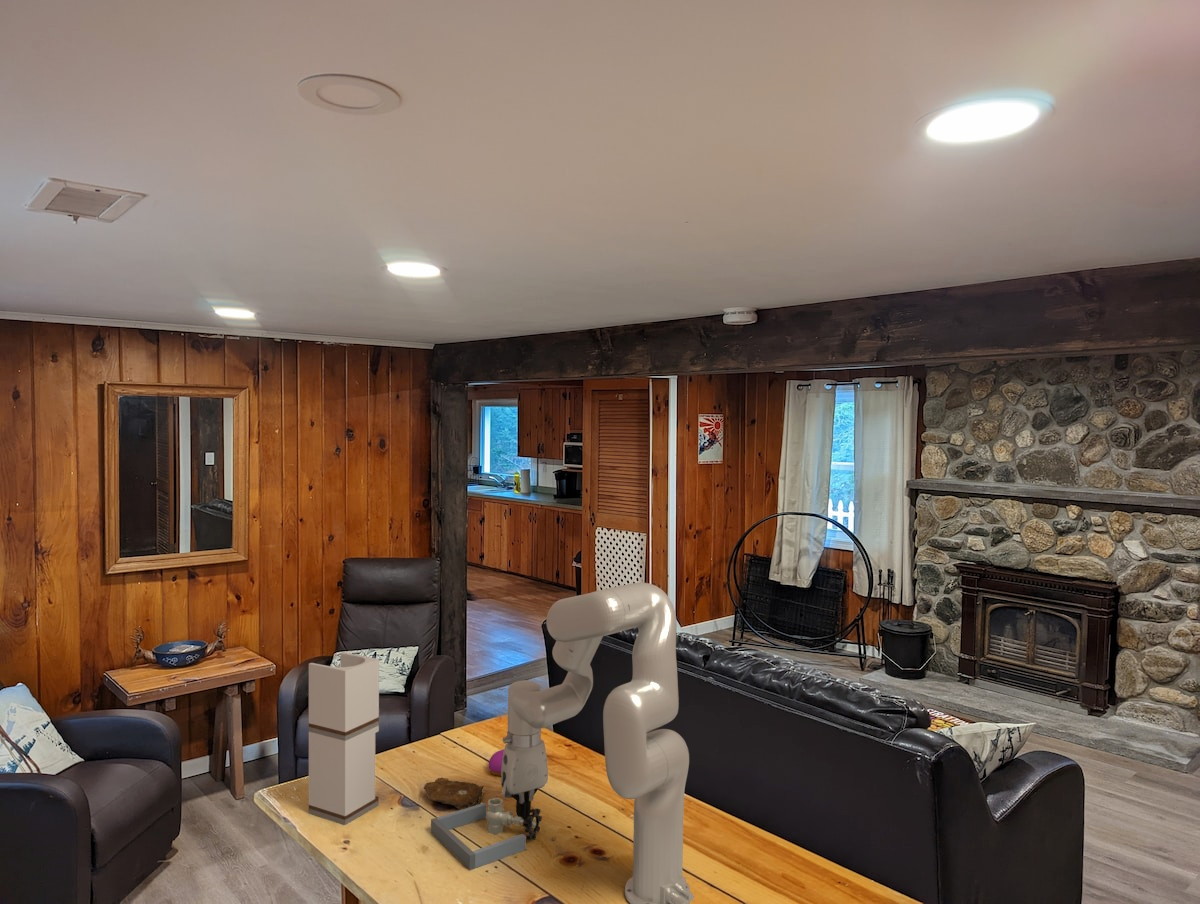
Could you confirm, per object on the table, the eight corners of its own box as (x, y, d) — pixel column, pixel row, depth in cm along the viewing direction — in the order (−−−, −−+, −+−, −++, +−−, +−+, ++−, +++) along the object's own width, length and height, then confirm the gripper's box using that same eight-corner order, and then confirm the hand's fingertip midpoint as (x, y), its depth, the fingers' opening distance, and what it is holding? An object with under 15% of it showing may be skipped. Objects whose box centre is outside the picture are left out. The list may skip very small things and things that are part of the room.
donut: (483, 777, 203) (483, 759, 203) (497, 761, 213) (497, 744, 212) (520, 781, 200) (521, 764, 200) (534, 765, 210) (534, 748, 210)
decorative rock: (411, 808, 187) (469, 819, 183) (411, 791, 186) (469, 802, 182) (433, 785, 198) (489, 794, 194) (433, 769, 197) (489, 778, 193)
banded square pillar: (378, 805, 187) (378, 659, 186) (345, 825, 177) (345, 671, 176) (343, 794, 192) (343, 652, 191) (308, 813, 182) (308, 663, 181)
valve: (479, 835, 173) (528, 846, 169) (479, 806, 173) (528, 816, 169) (494, 821, 179) (541, 832, 175) (494, 793, 179) (542, 803, 175)
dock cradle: (525, 849, 168) (525, 836, 167) (469, 870, 160) (470, 855, 159) (483, 815, 182) (483, 802, 182) (430, 832, 174) (430, 819, 174)
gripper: (503, 750, 170) (502, 834, 171) (561, 735, 179) (560, 815, 179) (486, 739, 176) (486, 820, 177) (543, 725, 185) (542, 802, 186)
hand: (523, 817), depth 178 cm, fingers closed
